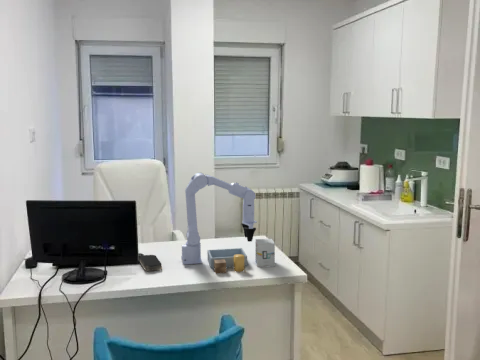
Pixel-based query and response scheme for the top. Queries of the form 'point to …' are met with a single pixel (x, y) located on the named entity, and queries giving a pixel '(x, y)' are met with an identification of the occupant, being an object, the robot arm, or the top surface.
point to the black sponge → (150, 262)
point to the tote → (225, 256)
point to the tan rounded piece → (239, 263)
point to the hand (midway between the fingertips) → (248, 239)
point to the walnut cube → (220, 266)
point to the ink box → (265, 253)
